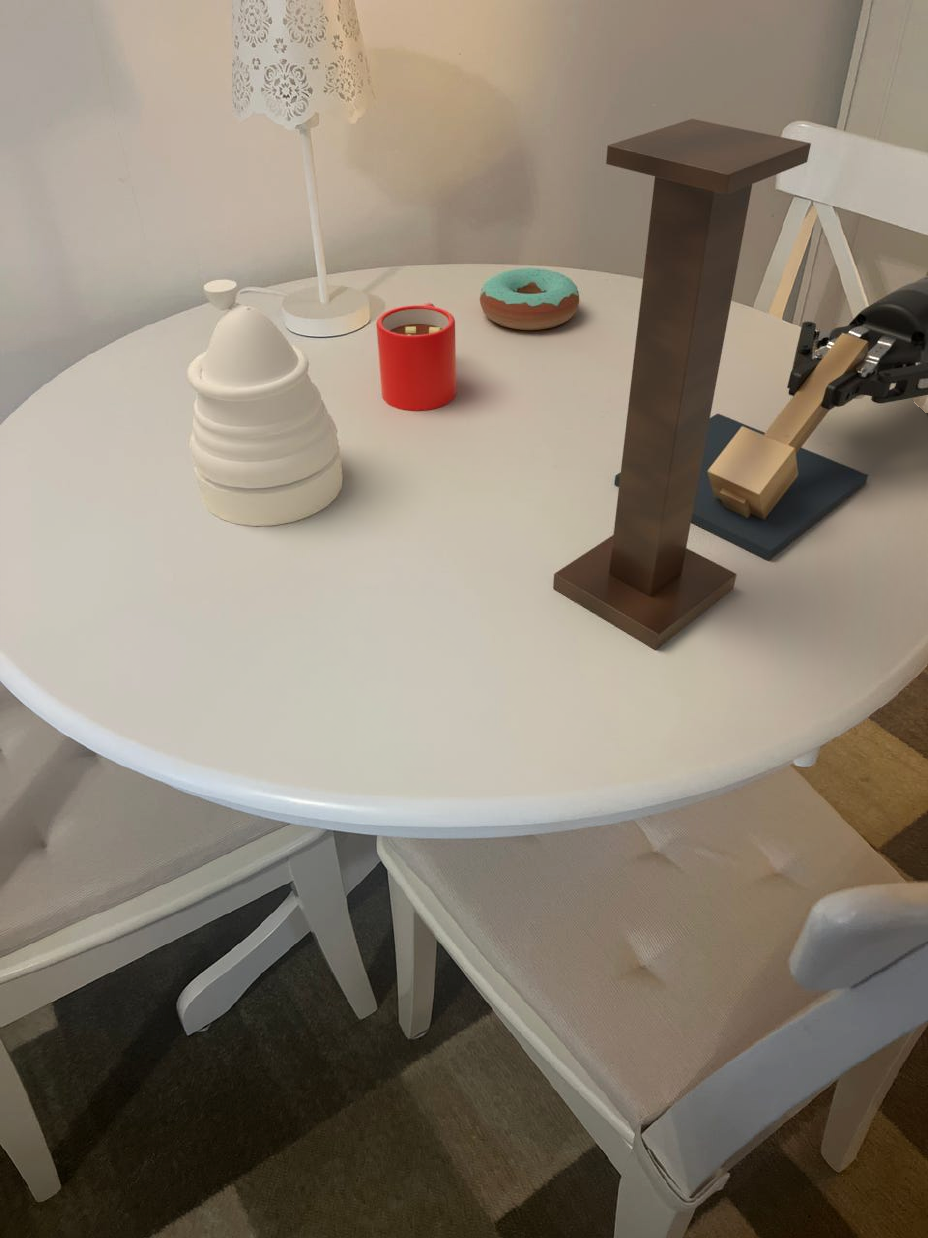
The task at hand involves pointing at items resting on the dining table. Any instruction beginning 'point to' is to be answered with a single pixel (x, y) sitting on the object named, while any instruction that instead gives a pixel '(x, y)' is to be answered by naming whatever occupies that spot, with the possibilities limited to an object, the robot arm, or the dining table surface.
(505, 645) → the dining table surface
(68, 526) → the dining table surface
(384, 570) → the dining table surface
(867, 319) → the robot arm
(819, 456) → the mat
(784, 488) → the light wood mallet shape
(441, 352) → the mug
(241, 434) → the honey pot
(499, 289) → the donut
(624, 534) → the brown pedestal stand
